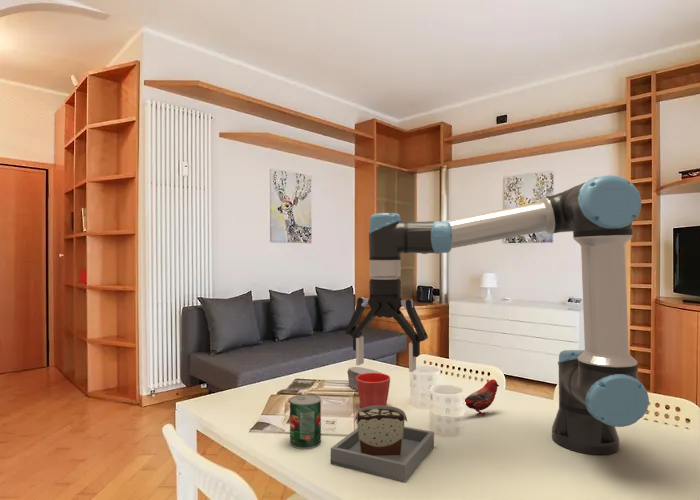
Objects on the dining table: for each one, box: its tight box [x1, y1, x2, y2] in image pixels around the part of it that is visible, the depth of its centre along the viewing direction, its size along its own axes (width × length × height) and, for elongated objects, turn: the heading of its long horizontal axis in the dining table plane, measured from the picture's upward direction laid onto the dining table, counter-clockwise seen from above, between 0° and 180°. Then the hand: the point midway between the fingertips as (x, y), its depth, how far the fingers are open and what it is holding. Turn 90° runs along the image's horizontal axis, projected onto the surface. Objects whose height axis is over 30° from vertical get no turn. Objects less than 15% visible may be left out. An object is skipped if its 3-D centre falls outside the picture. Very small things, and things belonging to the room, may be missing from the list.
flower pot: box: [356, 372, 391, 409], centre depth 139 cm, size 11×11×10 cm
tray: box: [330, 425, 435, 483], centre depth 107 cm, size 18×20×4 cm
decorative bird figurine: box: [464, 379, 500, 416], centre depth 132 cm, size 3×18×10 cm, turn 115°
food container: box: [353, 405, 408, 457], centre depth 107 cm, size 12×6×10 cm, turn 92°
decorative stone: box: [347, 366, 382, 391], centre depth 159 cm, size 15×7×10 cm
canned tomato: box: [289, 393, 322, 450], centre depth 114 cm, size 8×8×11 cm
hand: (385, 367), depth 107 cm, fingers open, 13 cm apart
